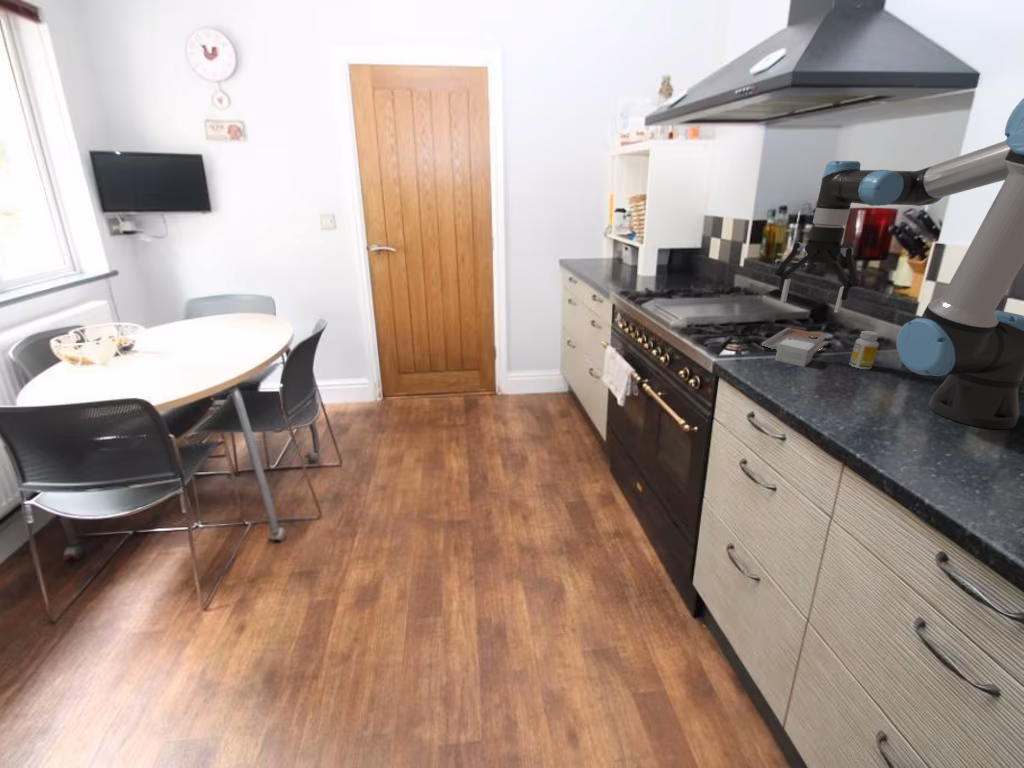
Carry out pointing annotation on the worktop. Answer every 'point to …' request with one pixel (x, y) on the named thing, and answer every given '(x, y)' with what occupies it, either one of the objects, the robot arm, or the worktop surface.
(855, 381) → the worktop surface
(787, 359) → the small box
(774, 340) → the board
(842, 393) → the worktop surface
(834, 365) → the worktop surface
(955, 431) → the worktop surface
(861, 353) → the supplement bottle
